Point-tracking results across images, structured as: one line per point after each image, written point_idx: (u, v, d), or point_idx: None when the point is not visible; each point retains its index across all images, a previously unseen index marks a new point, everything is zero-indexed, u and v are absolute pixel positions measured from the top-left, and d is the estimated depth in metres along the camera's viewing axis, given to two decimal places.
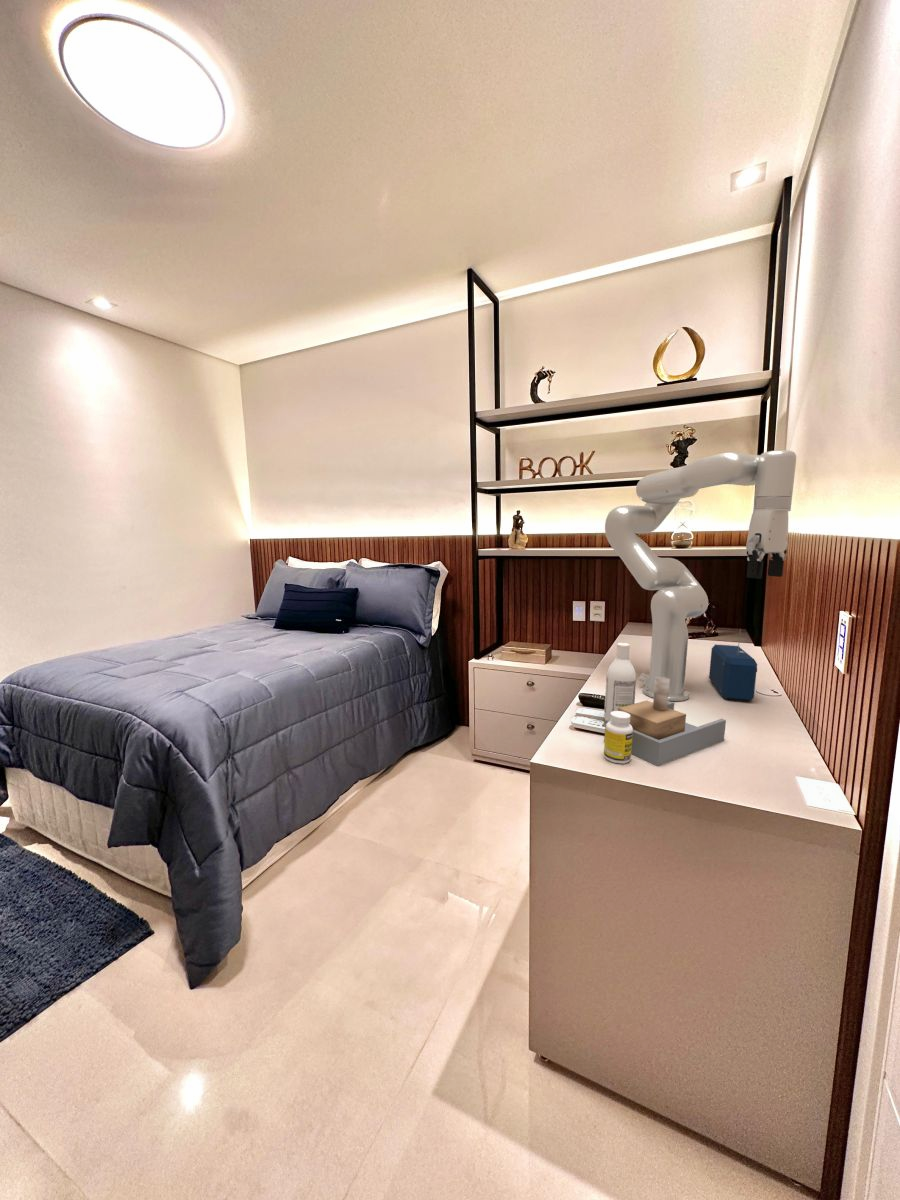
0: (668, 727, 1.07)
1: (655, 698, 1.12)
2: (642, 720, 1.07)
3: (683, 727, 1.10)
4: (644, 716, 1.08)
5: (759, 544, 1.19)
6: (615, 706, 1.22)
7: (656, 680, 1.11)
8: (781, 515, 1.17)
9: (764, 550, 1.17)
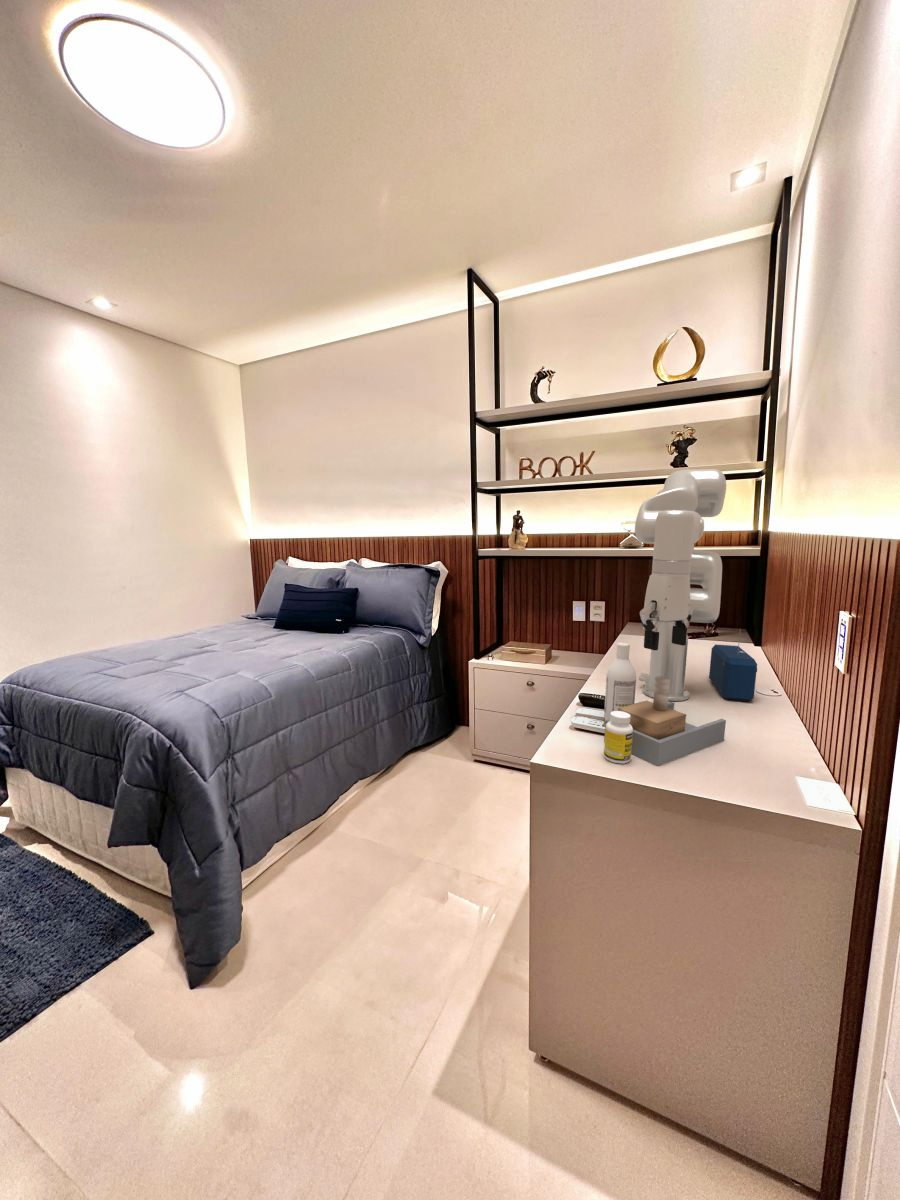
0: (668, 727, 1.07)
1: (655, 698, 1.12)
2: (642, 720, 1.07)
3: (683, 727, 1.10)
4: (644, 716, 1.08)
5: (656, 612, 1.08)
6: (615, 706, 1.22)
7: (656, 680, 1.11)
8: (678, 581, 1.06)
9: (660, 619, 1.05)
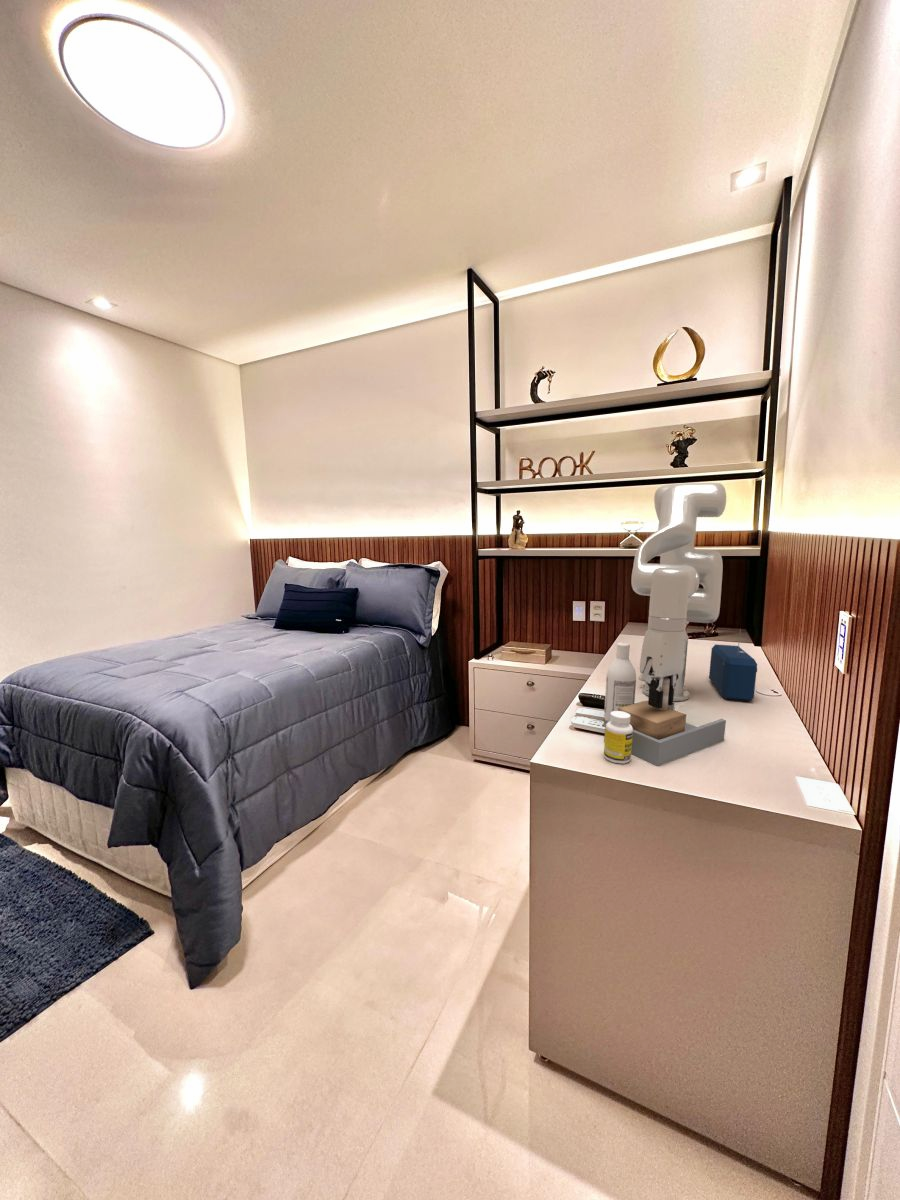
0: (668, 727, 1.07)
1: None
2: (642, 720, 1.07)
3: (683, 727, 1.10)
4: (644, 716, 1.08)
5: None
6: (615, 706, 1.22)
7: (656, 680, 1.11)
8: (674, 638, 1.08)
9: (656, 676, 1.07)
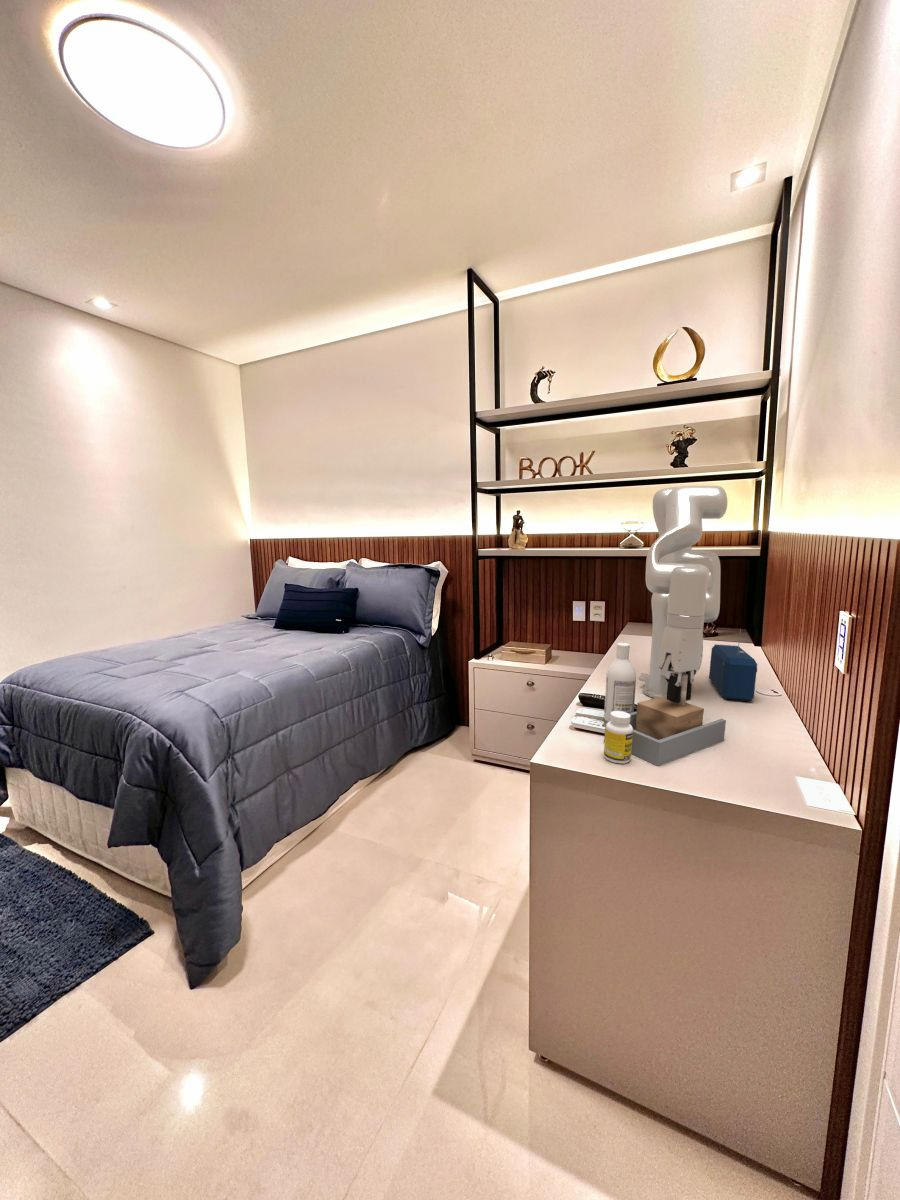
0: (687, 721, 1.10)
1: None
2: (661, 714, 1.11)
3: (701, 721, 1.13)
4: (663, 710, 1.11)
5: None
6: (615, 706, 1.22)
7: (674, 676, 1.15)
8: (692, 635, 1.11)
9: (674, 671, 1.11)
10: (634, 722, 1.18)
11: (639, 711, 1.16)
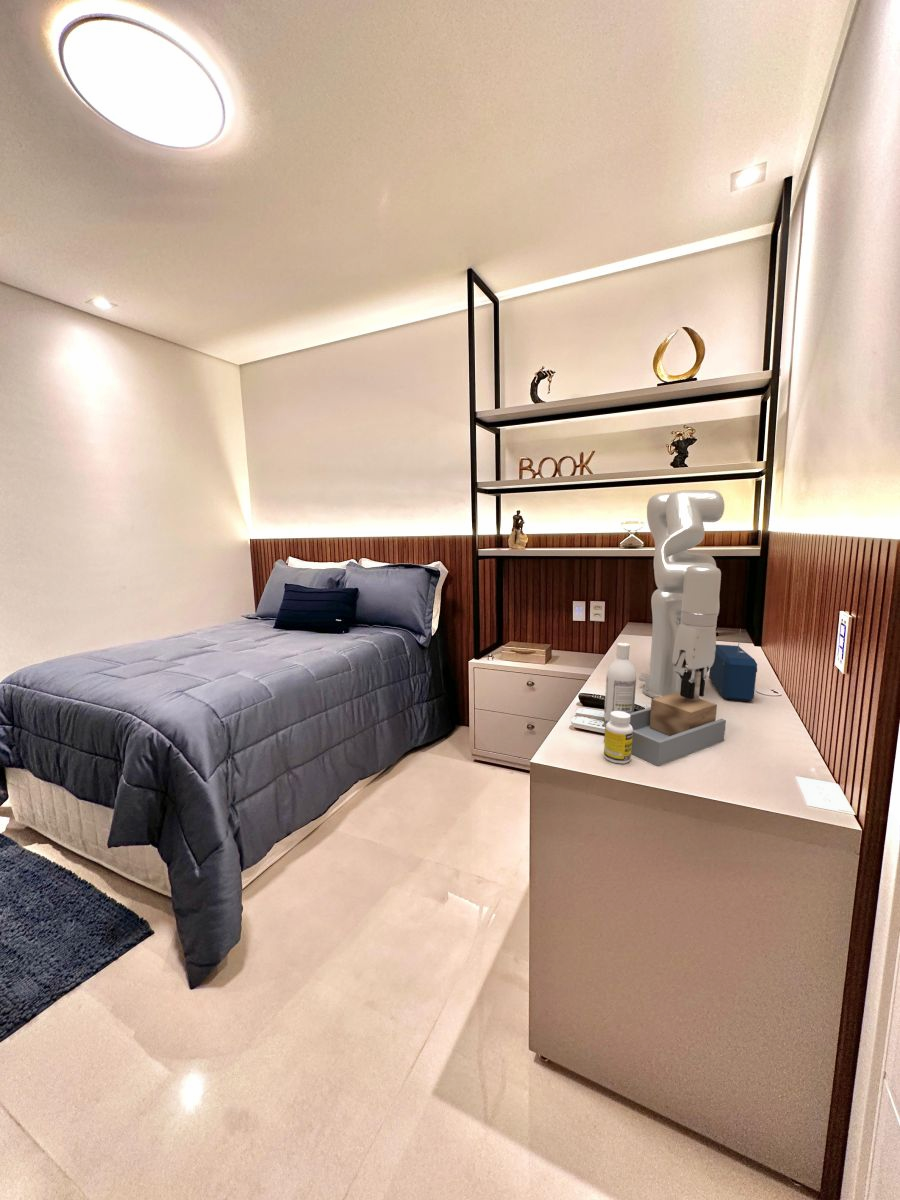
0: (701, 716, 1.13)
1: None
2: (675, 710, 1.13)
3: (714, 717, 1.16)
4: (677, 706, 1.14)
5: None
6: (615, 706, 1.22)
7: (688, 672, 1.17)
8: (706, 632, 1.14)
9: (688, 668, 1.14)
10: (634, 722, 1.18)
11: (653, 707, 1.18)
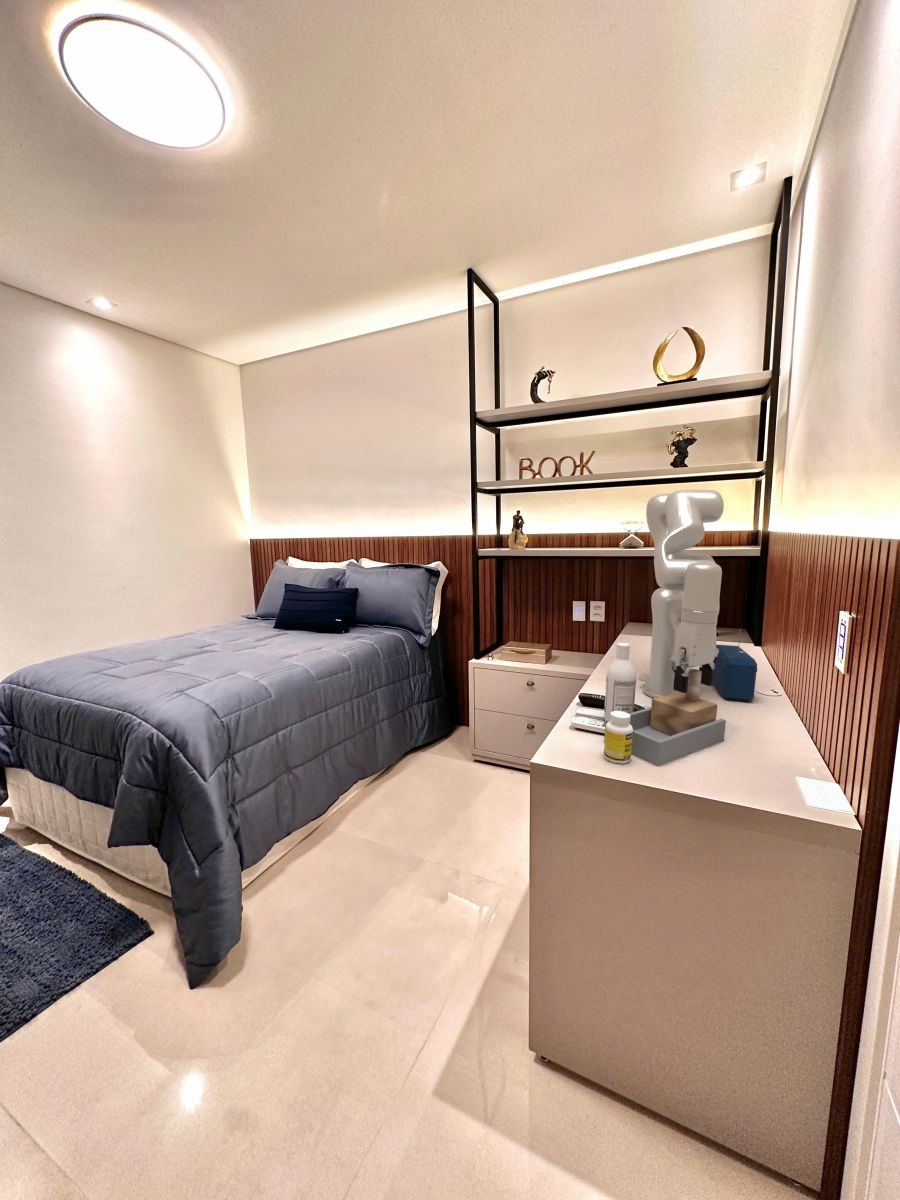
0: (701, 716, 1.13)
1: (687, 689, 1.18)
2: (676, 710, 1.14)
3: (714, 716, 1.16)
4: (678, 706, 1.14)
5: (685, 657, 1.16)
6: (615, 706, 1.22)
7: (688, 672, 1.18)
8: (706, 630, 1.14)
9: (689, 665, 1.14)
10: (634, 722, 1.18)
11: (654, 707, 1.19)
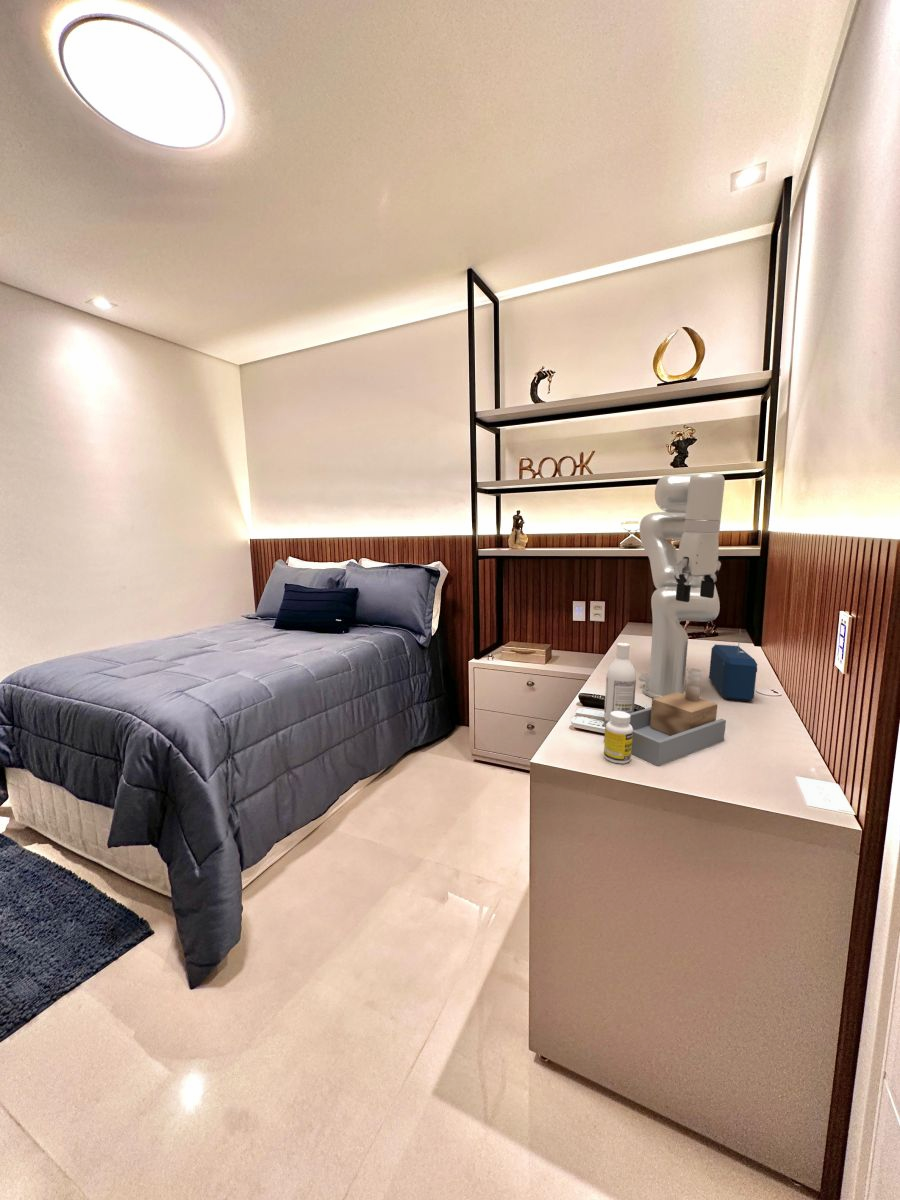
0: (701, 716, 1.13)
1: (687, 689, 1.18)
2: (676, 710, 1.14)
3: (714, 716, 1.16)
4: (678, 706, 1.14)
5: (688, 567, 1.19)
6: (615, 706, 1.22)
7: (688, 672, 1.18)
8: (709, 539, 1.16)
9: (691, 574, 1.17)
10: (634, 722, 1.18)
11: (654, 707, 1.19)
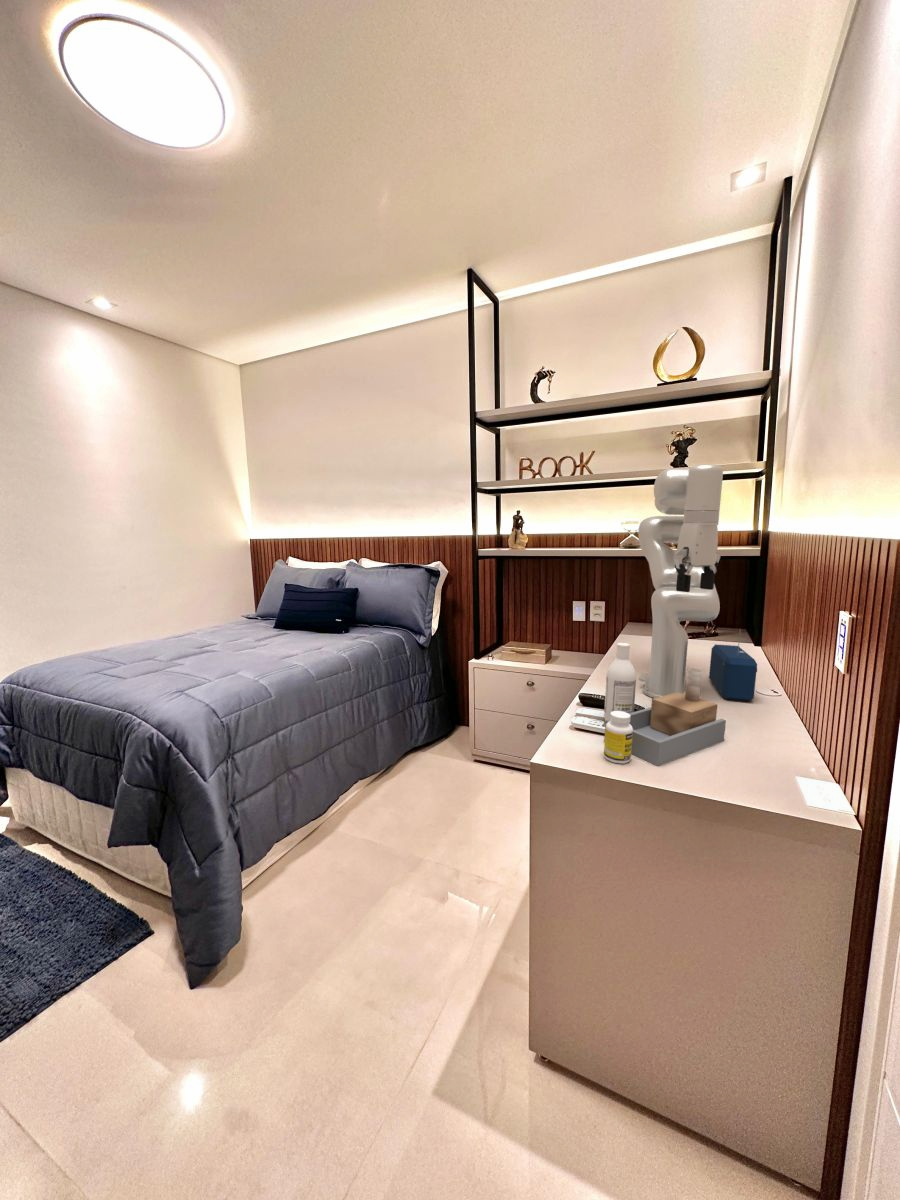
0: (701, 716, 1.13)
1: (687, 689, 1.18)
2: (676, 710, 1.14)
3: (714, 716, 1.16)
4: (678, 706, 1.14)
5: (688, 558, 1.20)
6: (615, 706, 1.22)
7: (688, 672, 1.18)
8: (708, 529, 1.18)
9: (691, 564, 1.17)
10: (634, 722, 1.18)
11: (654, 707, 1.19)
